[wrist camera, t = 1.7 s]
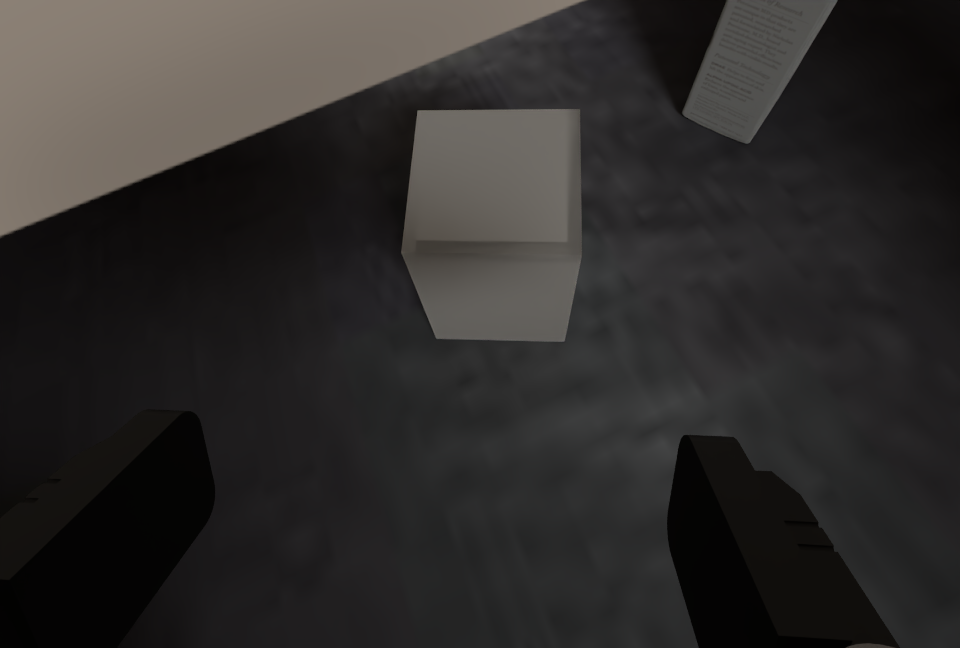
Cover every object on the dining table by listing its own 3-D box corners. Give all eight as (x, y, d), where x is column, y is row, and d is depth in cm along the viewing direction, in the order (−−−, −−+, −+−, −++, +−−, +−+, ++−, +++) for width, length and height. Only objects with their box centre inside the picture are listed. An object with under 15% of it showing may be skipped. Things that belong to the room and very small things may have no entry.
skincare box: (723, 49, 34) (820, -193, 23) (796, 78, 33) (935, -163, 22) (676, 120, 33) (756, -104, 22) (750, 153, 32) (876, -66, 20)
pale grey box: (564, 229, 31) (579, 108, 22) (564, 341, 28) (582, 254, 20) (445, 228, 31) (417, 110, 23) (436, 338, 29) (401, 252, 21)
